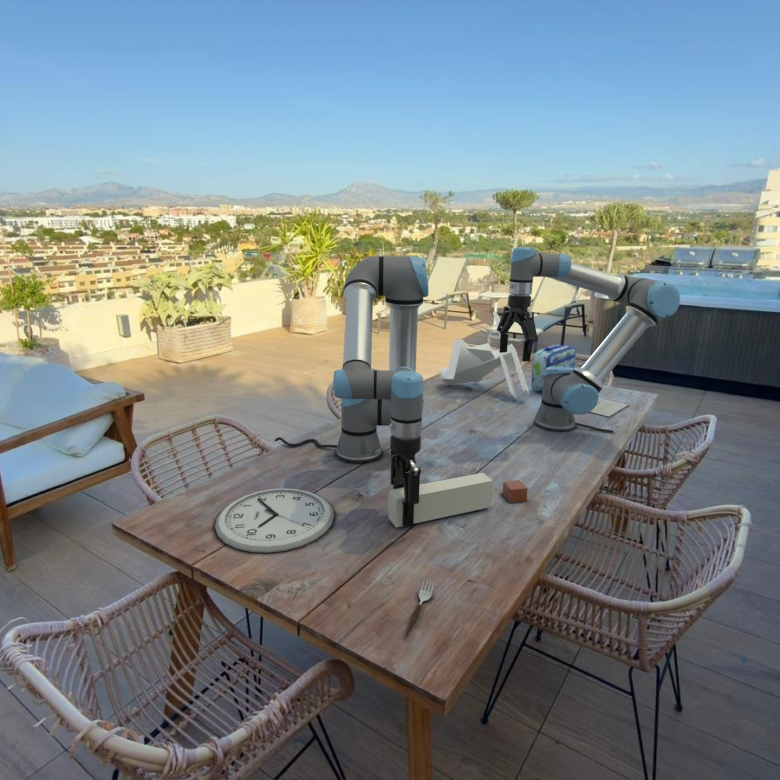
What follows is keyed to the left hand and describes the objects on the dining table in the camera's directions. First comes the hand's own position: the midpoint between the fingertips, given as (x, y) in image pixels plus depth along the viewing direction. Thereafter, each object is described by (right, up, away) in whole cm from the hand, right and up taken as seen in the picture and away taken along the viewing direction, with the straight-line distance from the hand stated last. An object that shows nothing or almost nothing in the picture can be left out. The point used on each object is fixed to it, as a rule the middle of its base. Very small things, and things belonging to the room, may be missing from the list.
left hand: (403, 518), depth 135 cm
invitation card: (+88, +26, +92) cm, 130 cm away
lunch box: (+74, +33, +115) cm, 141 cm away
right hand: (+40, +45, +47) cm, 76 cm away
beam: (+10, +1, +4) cm, 11 cm away
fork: (+2, -11, -31) cm, 33 cm away
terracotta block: (+32, +3, +14) cm, 35 cm away
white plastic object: (+38, +32, +109) cm, 119 cm away
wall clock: (-33, 0, +1) cm, 33 cm away
